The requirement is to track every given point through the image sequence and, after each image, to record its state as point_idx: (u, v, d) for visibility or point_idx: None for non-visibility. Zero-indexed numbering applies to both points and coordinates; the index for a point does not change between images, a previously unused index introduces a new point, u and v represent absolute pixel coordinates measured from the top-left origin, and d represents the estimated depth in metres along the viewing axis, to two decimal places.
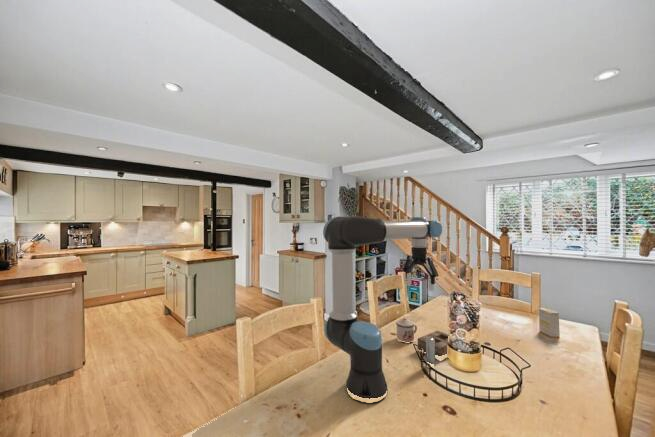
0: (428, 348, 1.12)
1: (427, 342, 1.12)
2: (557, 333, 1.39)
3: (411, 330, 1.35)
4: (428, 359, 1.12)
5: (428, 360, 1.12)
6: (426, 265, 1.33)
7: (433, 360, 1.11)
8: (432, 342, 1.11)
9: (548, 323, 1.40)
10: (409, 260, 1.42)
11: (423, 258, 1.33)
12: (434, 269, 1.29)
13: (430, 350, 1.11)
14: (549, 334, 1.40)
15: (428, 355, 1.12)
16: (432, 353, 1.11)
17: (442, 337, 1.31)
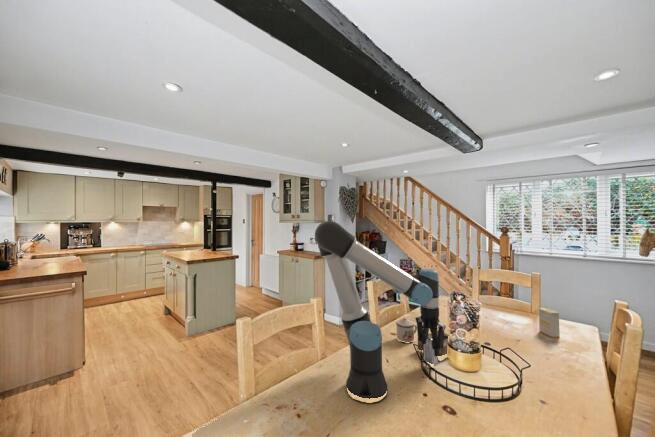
0: (428, 348, 1.12)
1: (427, 342, 1.12)
2: (557, 333, 1.39)
3: (411, 330, 1.35)
4: (428, 359, 1.12)
5: (428, 360, 1.12)
6: (435, 332, 1.11)
7: None
8: (432, 342, 1.11)
9: (548, 323, 1.40)
10: (420, 323, 1.17)
11: (435, 322, 1.10)
12: (441, 340, 1.08)
13: (430, 350, 1.11)
14: (549, 334, 1.40)
15: (428, 355, 1.12)
16: None
17: None
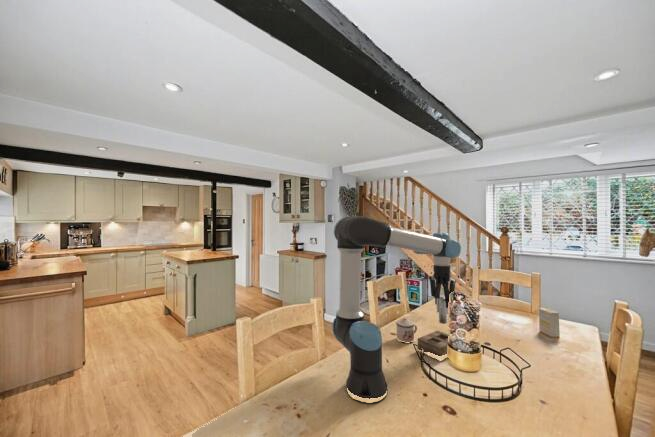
0: (440, 305, 1.27)
1: (440, 300, 1.28)
2: (557, 333, 1.39)
3: (411, 330, 1.35)
4: (441, 315, 1.27)
5: (440, 316, 1.27)
6: (446, 287, 1.26)
7: (445, 316, 1.27)
8: (444, 300, 1.27)
9: (548, 323, 1.40)
10: (433, 281, 1.32)
11: (447, 278, 1.25)
12: None
13: (442, 307, 1.27)
14: (549, 334, 1.40)
15: (440, 312, 1.27)
16: None
17: (442, 337, 1.31)
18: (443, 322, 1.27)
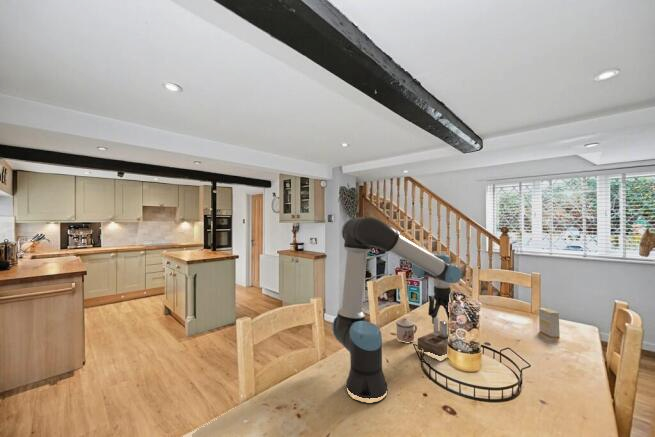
0: (441, 330, 1.27)
1: (441, 325, 1.27)
2: (557, 333, 1.39)
3: (411, 330, 1.35)
4: None
5: None
6: None
7: None
8: (445, 325, 1.26)
9: (548, 323, 1.40)
10: (432, 301, 1.32)
11: (447, 300, 1.25)
12: None
13: (443, 332, 1.26)
14: (549, 334, 1.40)
15: (441, 336, 1.27)
16: (445, 335, 1.26)
17: None
18: None
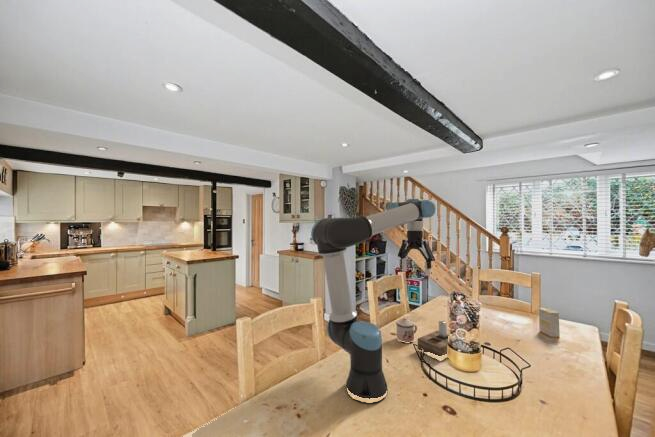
0: (441, 330, 1.27)
1: (440, 325, 1.28)
2: (557, 333, 1.39)
3: (411, 330, 1.35)
4: None
5: None
6: (422, 249, 1.26)
7: None
8: (444, 325, 1.27)
9: (548, 323, 1.40)
10: (404, 245, 1.35)
11: (419, 242, 1.27)
12: (430, 253, 1.23)
13: (443, 332, 1.27)
14: (549, 334, 1.40)
15: (441, 336, 1.27)
16: (444, 334, 1.27)
17: None
18: None
